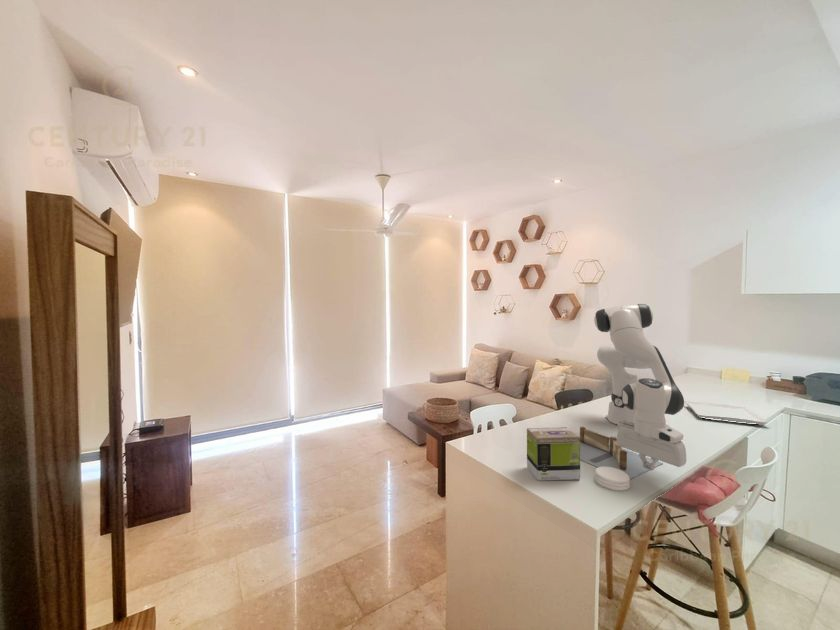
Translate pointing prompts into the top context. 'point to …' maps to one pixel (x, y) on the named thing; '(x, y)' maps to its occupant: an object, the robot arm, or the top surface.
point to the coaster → (612, 478)
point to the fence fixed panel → (596, 439)
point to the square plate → (760, 420)
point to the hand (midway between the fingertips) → (648, 468)
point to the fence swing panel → (620, 456)
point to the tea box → (553, 453)
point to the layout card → (613, 460)
